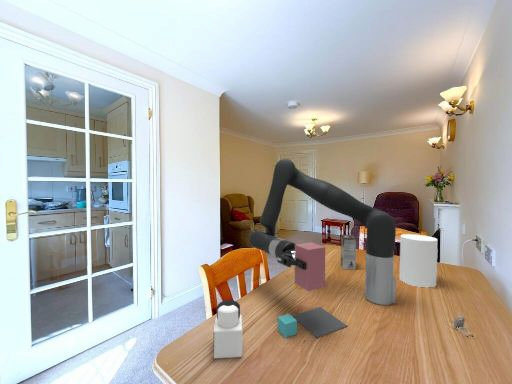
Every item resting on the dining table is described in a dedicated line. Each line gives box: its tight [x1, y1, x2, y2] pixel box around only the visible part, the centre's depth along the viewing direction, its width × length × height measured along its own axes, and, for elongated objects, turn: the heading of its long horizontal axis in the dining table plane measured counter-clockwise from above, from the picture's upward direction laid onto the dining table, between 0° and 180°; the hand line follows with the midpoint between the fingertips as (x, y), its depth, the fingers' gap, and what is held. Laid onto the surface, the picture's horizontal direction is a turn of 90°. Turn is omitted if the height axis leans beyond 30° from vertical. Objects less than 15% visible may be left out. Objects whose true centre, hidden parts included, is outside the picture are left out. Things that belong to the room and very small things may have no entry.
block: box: [277, 313, 298, 339], centre depth 68 cm, size 4×4×4 cm
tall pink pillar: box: [294, 242, 326, 292], centre depth 71 cm, size 6×6×12 cm
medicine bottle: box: [213, 299, 243, 359], centre depth 61 cm, size 7×7×12 cm
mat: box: [291, 306, 348, 339], centre depth 74 cm, size 12×12×1 cm
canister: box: [399, 233, 438, 289], centre depth 104 cm, size 14×14×20 cm
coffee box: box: [340, 234, 357, 271], centre depth 123 cm, size 9×6×16 cm
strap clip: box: [453, 315, 469, 334], centre depth 70 cm, size 8×3×4 cm, turn 6°
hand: (315, 264), depth 68 cm, fingers closed on tall pink pillar, 6 cm apart
